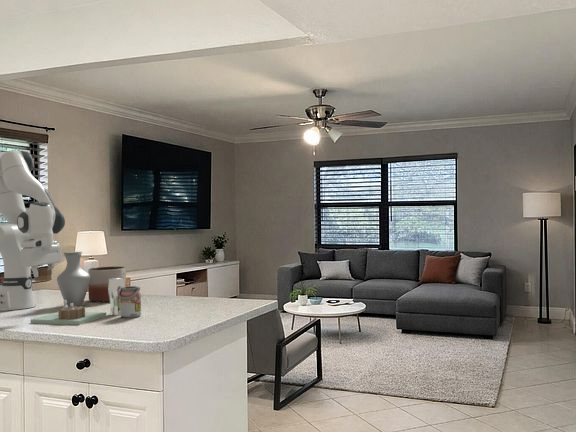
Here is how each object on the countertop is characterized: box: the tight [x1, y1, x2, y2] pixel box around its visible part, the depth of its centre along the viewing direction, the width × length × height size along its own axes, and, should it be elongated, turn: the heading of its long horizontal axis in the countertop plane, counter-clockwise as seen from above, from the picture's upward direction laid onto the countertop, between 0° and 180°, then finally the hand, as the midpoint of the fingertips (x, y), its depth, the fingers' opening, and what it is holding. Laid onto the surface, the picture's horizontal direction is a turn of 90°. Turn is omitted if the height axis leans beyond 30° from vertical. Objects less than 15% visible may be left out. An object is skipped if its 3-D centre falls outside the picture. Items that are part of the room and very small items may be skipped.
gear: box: [34, 268, 53, 282], centre depth 230 cm, size 6×6×4 cm
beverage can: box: [118, 285, 142, 319], centre depth 231 cm, size 9×8×12 cm
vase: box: [56, 251, 90, 307], centre depth 263 cm, size 14×14×25 cm
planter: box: [87, 265, 127, 303], centre depth 279 cm, size 18×18×16 cm
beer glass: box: [108, 278, 125, 316], centre depth 238 cm, size 7×7×15 cm
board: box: [30, 300, 107, 326], centre depth 228 cm, size 22×18×7 cm
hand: (43, 275), depth 230 cm, fingers closed on gear, 6 cm apart
